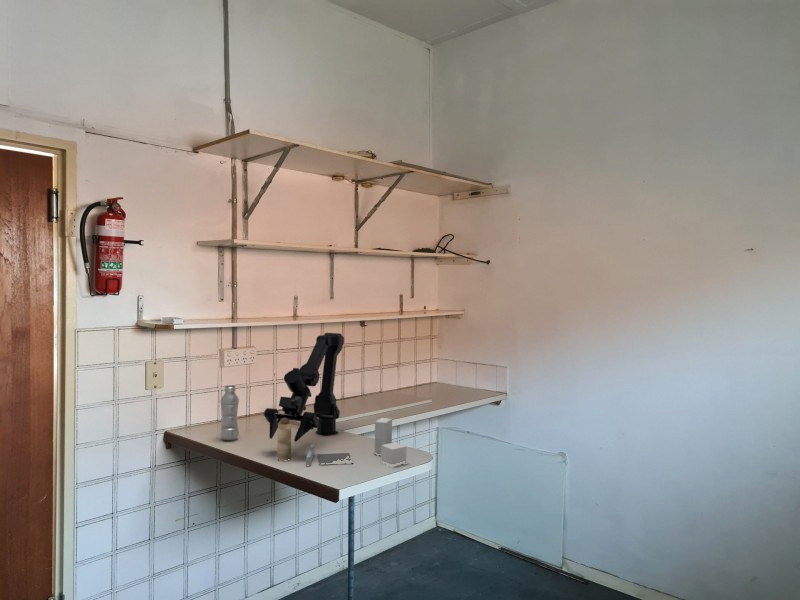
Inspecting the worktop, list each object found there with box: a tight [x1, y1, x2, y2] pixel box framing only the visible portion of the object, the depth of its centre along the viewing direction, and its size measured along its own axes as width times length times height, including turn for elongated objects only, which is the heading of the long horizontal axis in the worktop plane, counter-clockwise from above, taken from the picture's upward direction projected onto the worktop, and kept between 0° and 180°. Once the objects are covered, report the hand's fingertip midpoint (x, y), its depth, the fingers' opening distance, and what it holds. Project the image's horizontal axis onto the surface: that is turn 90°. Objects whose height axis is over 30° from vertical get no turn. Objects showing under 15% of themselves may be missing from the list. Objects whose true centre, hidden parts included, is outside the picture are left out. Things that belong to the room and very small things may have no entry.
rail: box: [305, 444, 316, 466], centre depth 195 cm, size 14×1×3 cm, turn 2°
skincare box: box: [374, 417, 393, 454], centre depth 203 cm, size 6×4×12 cm
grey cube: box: [380, 442, 407, 464], centre depth 194 cm, size 6×6×6 cm
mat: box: [316, 452, 352, 465], centre depth 196 cm, size 11×11×1 cm
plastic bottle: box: [219, 384, 240, 441], centre depth 216 cm, size 6×7×20 cm
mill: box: [276, 418, 292, 461], centre depth 195 cm, size 4×4×14 cm
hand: (282, 439), depth 194 cm, fingers open, 9 cm apart
